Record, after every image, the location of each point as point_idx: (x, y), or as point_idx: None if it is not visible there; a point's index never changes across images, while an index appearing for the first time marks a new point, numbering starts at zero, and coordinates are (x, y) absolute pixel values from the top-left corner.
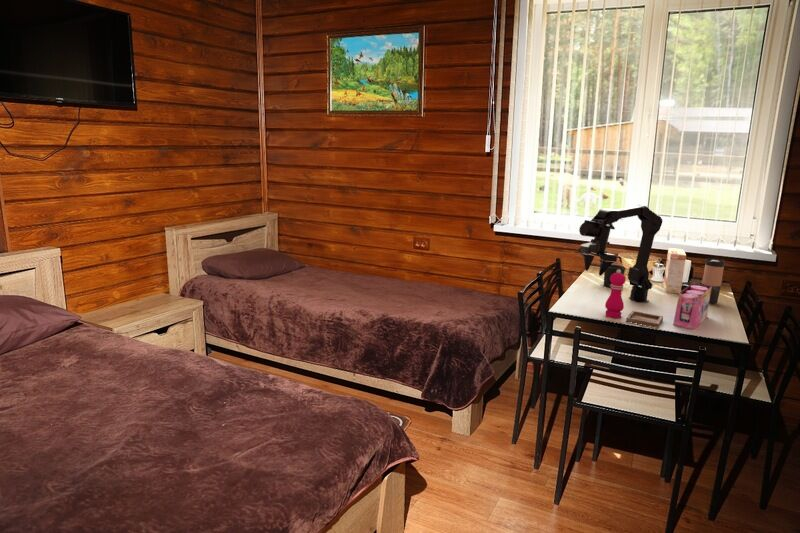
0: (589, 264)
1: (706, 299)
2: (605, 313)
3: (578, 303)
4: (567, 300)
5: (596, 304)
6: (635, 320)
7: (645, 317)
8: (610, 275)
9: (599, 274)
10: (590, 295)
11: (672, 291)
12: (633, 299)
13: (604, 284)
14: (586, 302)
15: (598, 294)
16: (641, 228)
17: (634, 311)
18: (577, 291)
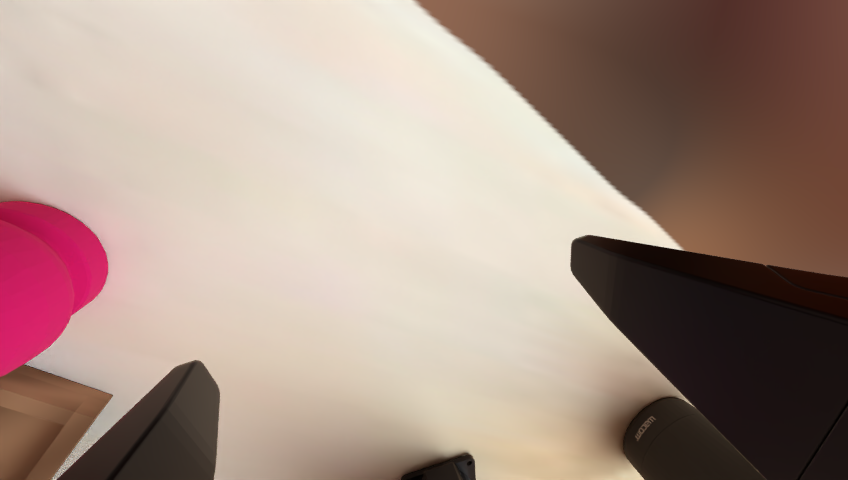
0: (666, 351)
1: None
2: (32, 206)
3: (371, 116)
4: (447, 60)
5: (350, 243)
6: None
7: (7, 462)
8: (699, 463)
9: (170, 375)
10: (537, 276)
11: None
12: (425, 471)
13: (671, 401)
14: (396, 190)
15: (548, 327)
16: None
17: (72, 428)
18: (617, 228)
